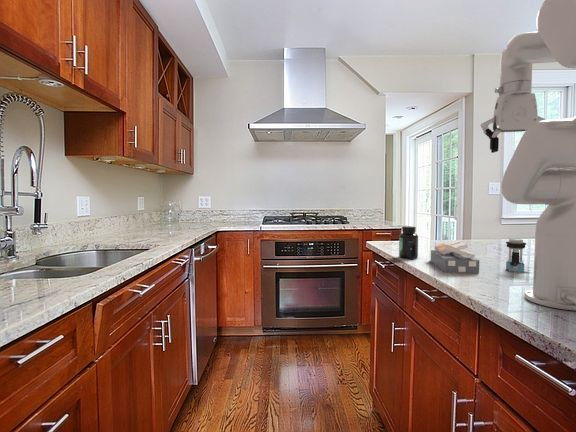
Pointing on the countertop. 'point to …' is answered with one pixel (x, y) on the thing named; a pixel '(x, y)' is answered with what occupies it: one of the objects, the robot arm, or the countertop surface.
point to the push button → (515, 255)
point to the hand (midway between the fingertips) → (512, 151)
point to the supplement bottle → (408, 243)
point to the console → (455, 262)
